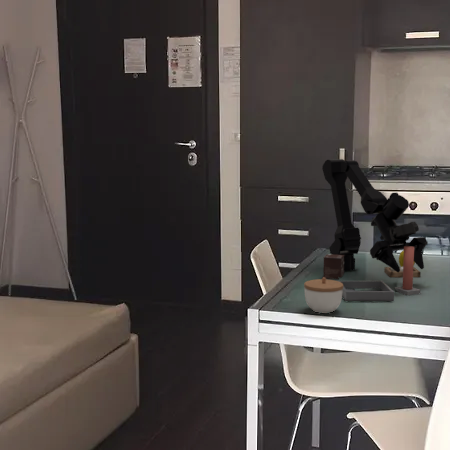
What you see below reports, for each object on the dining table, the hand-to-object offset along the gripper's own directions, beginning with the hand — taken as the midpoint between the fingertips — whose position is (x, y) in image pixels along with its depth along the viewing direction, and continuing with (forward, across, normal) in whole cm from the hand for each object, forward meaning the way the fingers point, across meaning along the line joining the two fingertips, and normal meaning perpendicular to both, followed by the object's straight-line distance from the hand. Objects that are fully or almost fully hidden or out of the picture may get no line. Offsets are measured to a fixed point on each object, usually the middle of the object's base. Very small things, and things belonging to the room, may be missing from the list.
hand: (411, 270), depth 216 cm
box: (-15, -8, +25) cm, 30 cm away
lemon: (-13, +20, +23) cm, 33 cm away
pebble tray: (-8, +12, +18) cm, 24 cm away
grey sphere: (-10, +11, +19) cm, 24 cm away
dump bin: (+3, -14, +8) cm, 17 cm away
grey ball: (-8, +12, +17) cm, 22 cm away
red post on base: (+4, 0, +6) cm, 7 cm away
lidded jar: (+9, -35, +2) cm, 36 cm away
